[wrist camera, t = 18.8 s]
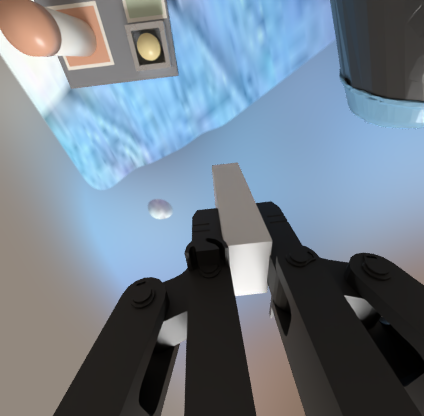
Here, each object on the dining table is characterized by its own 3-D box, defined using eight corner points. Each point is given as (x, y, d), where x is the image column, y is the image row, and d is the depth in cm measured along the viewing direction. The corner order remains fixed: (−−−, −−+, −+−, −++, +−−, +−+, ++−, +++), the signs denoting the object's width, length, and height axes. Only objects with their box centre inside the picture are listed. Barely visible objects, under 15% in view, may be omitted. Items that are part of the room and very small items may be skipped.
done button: (158, 33, 28) (156, 31, 26) (163, 59, 29) (161, 59, 28) (137, 36, 28) (134, 34, 26) (143, 61, 29) (140, 61, 28)
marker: (88, 13, 26) (30, -10, 17) (103, 54, 29) (59, 52, 20) (56, 20, 27) (-17, 0, 18) (74, 60, 29) (18, 60, 20)
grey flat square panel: (147, -115, 22) (146, -121, 21) (178, 75, 32) (178, 75, 31) (-3, -96, 22) (-9, -101, 21) (73, 88, 32) (71, 88, 31)
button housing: (165, 23, 28) (162, 20, 26) (172, 67, 30) (171, 67, 28) (129, 27, 28) (124, 25, 26) (139, 71, 30) (136, 71, 28)
